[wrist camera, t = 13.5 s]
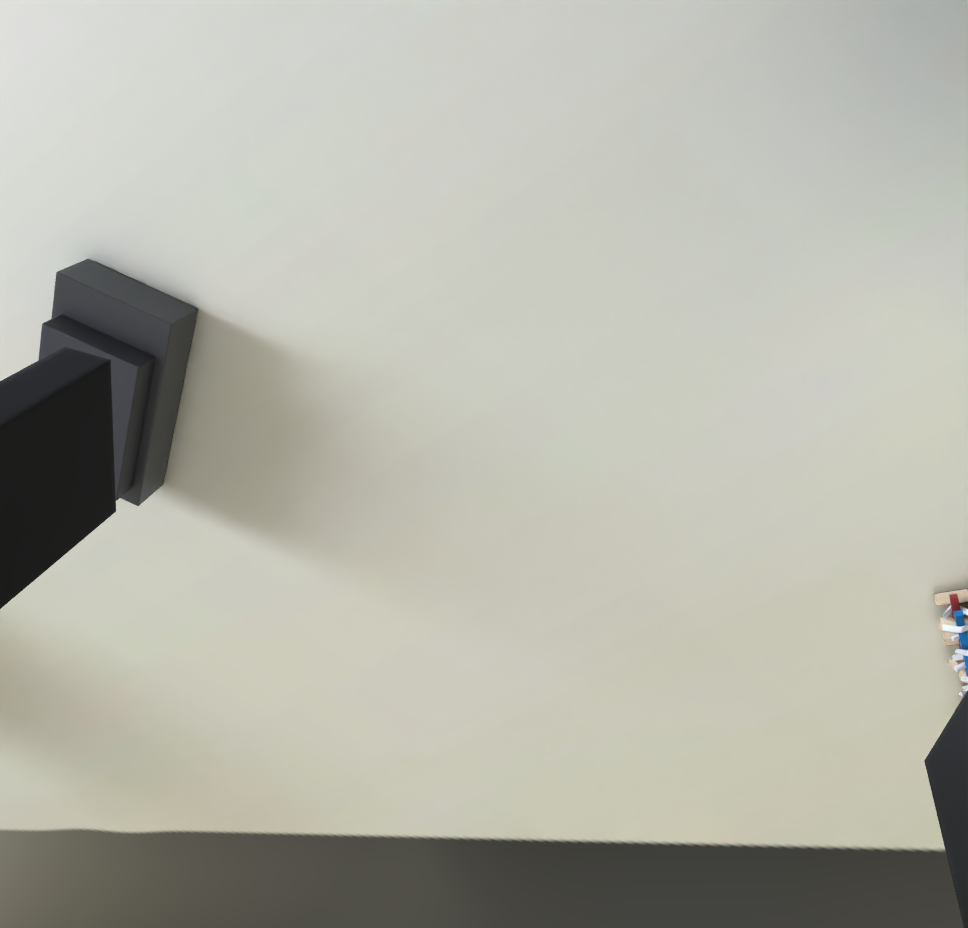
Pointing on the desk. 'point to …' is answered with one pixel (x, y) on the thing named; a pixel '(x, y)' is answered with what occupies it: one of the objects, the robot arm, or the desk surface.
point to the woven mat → (956, 631)
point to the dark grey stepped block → (127, 362)
